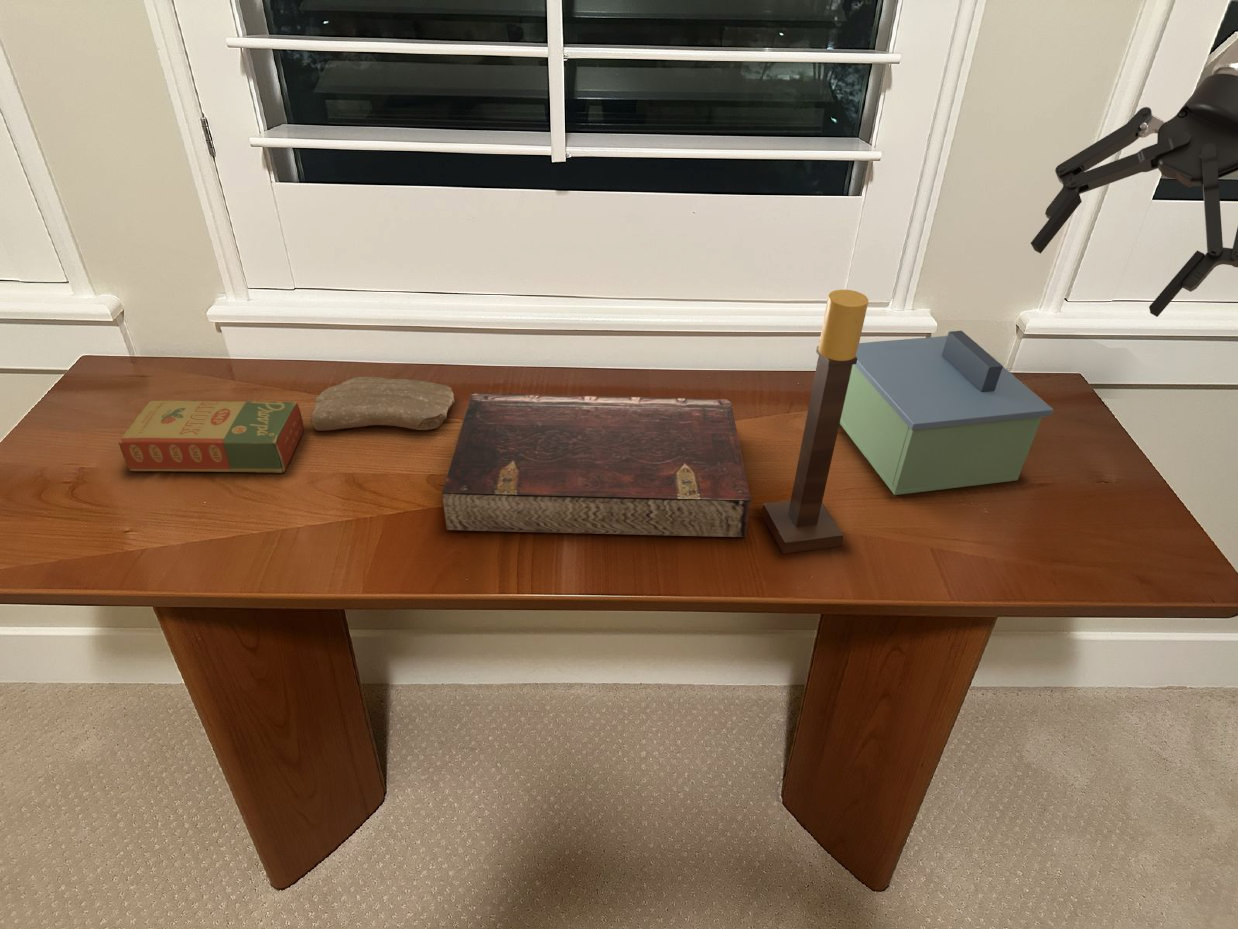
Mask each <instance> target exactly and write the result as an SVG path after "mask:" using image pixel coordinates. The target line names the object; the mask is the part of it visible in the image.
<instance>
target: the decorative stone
mask: <svg viewBox="0 0 1238 929" xmlns="http://www.w3.org/2000/svg"><path fill="white" fill-rule="evenodd" d="M454 394H455V393H454V392H453V390H452V387H451V386H449V385H446V384H442V383H437V382H431V381H425V380H415V379H411V378H403V379H400V378H394V379H393V378H383V377H379V376H357V377H352V378H350V379H348V380H344V381H343V382H341V383H339V384H337V385H334V386H330V387H328V388H325V389H324V390H323V391H322V392H320V394H319V395H318V396H317V397H315V405H314V409H313V411H312V412H311V419H310V420H311V423H312V426H313V428H314V430H316V431H319V432H320V431H321V432H322V431H324V432H325V431H335V430H336V431H337V430H341V429H342V430H344V429H352V428H353V429H354V428H360V427H361V428H362V427H368V426H389V427H390V426H391V427H400V428H406V429H410V430H417V431H429V430H434V429H438V428H439V427H441V425H443V423H444V421H445V420H446V419H447V417H448V411H449V410H450V409H451V407H452V406H453V405H454V404H455V395H454Z"/></svg>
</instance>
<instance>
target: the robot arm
mask: <svg viewBox="0 0 1238 929" xmlns="http://www.w3.org/2000/svg"><path fill="white" fill-rule="evenodd" d="M1211 73H1212V74H1211V75H1208V76H1206V77H1205V78H1204V79H1203V80H1202V82H1201V83H1200V84H1199V86H1198V87H1197V88H1196V89H1195V90H1194V92H1193V93H1192V95H1191V96H1190V97H1189V98H1188V100H1186V102H1185V103H1184V104H1183V105H1182V107H1180V109H1179V110H1178V112H1177V113H1176V114H1175V115H1174V116H1173V117H1172V118H1170V119H1169V120H1167V121H1165V120H1163V119H1161V118H1160V117H1158V116H1156V115H1154V114H1153V111H1152V109H1151V108H1150V107H1148V106H1143V107H1141V108H1140V109H1139V110H1138V111H1136V113H1135V114H1134V115H1133V116H1132V117H1131V118H1130V119H1129V121H1128V122H1126V124H1123V125H1122V126H1121V127H1119V128H1117V129H1116V130H1114V131H1112V132H1111V133H1109V134H1107V135H1106V136H1104V137H1103V138H1100V139H1099V140H1097V141H1096V142H1094V143H1093V144H1091V145H1089V146H1088V147H1086V148H1084V149H1083V150H1081V151H1079V152H1077V153H1076V154H1074V155H1073V156H1071V157H1069V158H1068V159H1066V160H1064V161H1063V162H1061V163H1059V164H1058V165H1057V166H1056V167H1055V169H1054V171H1055V175H1056V178H1057V180H1058V182H1059V183H1061V184H1062V188H1061V189H1060V190H1059V192H1058V193H1057V195H1056V196H1055V197H1054V199H1053V200H1052V201H1051V202H1050V204H1049V205H1048V206H1047V207H1046V209H1045V213H1044V215H1045V217H1046V219H1048V220H1047V221H1046V223H1045V224H1044V225H1043V226H1042V227H1041V229H1040V230H1039V231H1038V233H1037V234H1036V235H1035V236H1034V238H1033V239H1032V241H1031V242H1030V245H1031V247H1032V248H1033V251H1034V252H1037V253H1038V254H1042V253H1043V251H1045V249H1046V248H1047V246H1048V245H1049V244H1050V242H1051V241H1052V240H1053V239H1054V238H1055V236H1056V235H1057V234H1058V232H1059V231H1060V230H1061V229H1062V227H1063V226H1064V225H1065V224H1066V222H1067V221H1068V220H1069V219H1070V217H1071V216H1072V215H1073V213H1074V212H1075V211H1076V210H1077V209H1078V207H1079V206H1080V204H1082V197H1081V194H1084V193H1087V192H1089V191H1093V190H1095V189H1098V188H1101V187H1104V186H1106V185H1110V184H1112V183H1115V182H1118V181H1121V180H1124V179H1126V178H1129V177H1131V176H1135V175H1137V174H1140V173H1148V172H1149V173H1150V172H1152V171H1155V170H1157V169H1158V170H1159V172H1160V175H1161V176H1164V177H1165V178H1168V179H1175V180H1177V181H1179V182H1180V183H1181V184H1182V185H1183V186H1186V187H1188V188H1192V187H1200V186H1202V196H1203V208H1204V210H1203V211H1204V221H1205V222H1204V224H1205V237H1206V238H1205V239H1206V253H1203V252H1202V251H1200V250H1196V251H1195V252H1193V254H1192V256H1191V257H1190V258H1189V259H1188V260H1187V261H1186V262H1185V264H1184V265H1183V266H1182V267H1181V268H1180V270H1179V271H1178V272H1177V273H1176V274H1175V276H1174V277H1173V278H1172V279H1171V280H1170V282H1169V283H1168V284H1167V285H1166V286H1165V287H1164V289H1163V290H1161V292H1160V293H1159V294H1158V295H1157V297H1156V298H1155V299H1154V300H1153V302H1152V303H1150V305H1149V306H1148V309H1149V313H1150V314H1151V315H1153V316H1154V317H1156V318H1158V317H1159V316H1160V315H1161V314H1162V312H1163V311H1164V310H1165V309H1166V308H1167V306H1168V305H1170V303H1171V302H1172V301H1173V300H1174V299H1175V297H1176V296H1177V295H1178V294H1179V293H1180V292H1181V290H1182V289H1184V290H1186V291H1188V292H1190V293H1191V292H1193V291H1195V290H1196V289H1198V288H1199V286H1200V285H1201V284H1202V283H1203V282H1204V281H1205V279H1206V278H1207V277H1208V276H1209V275H1210V274H1211V273H1212V271H1213V270H1214V269H1215V268H1216V267H1217V266H1221V265H1222V266H1223V265H1226V266H1232V267H1233V268H1238V226H1237V228H1236V232H1235V237H1234V241H1233V245H1232V247H1224V242H1223V227H1222V226H1223V225H1222V214H1221V213H1222V212H1221V198H1220V180H1219V179H1221V178H1223V177H1226V176H1228V175H1231V174H1233V173H1236V172H1238V37H1237V38H1236V40H1235V41H1234V42H1233V43H1232V45H1231V46H1230V47H1228V49H1227V51H1226V52H1225V53H1224V55H1222V56H1221V58H1220V59H1219V60H1218V62H1217V63H1216V64H1215V65H1214V67H1213V68H1212V71H1211ZM1152 134H1157V139H1156V143H1154V144H1151V145H1148V146H1146V147H1143V148H1141V149H1140V150H1139V151H1137V152H1135V153H1132V154H1130V155H1127V156H1124V157H1122V158H1119V159H1116V160H1114V161H1111V162H1108V163H1105V164H1103V165H1100V166H1097V165H1099V164H1100V163H1102V162H1103V161H1105V160H1107V159H1108V158H1111V157H1112V156H1114V155H1115V154H1117V153H1119V152H1120V151H1122V150H1123V149H1125V148H1127V147H1129V146H1131V145H1132V144H1133V143H1135V142H1136V141H1138V140H1139V138H1142V139H1143V138H1147V137H1148V136H1150V135H1152ZM1096 166H1097V167H1096ZM1093 167H1094V168H1093Z"/></svg>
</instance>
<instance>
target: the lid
mask: <svg viewBox="0 0 1238 929" xmlns="http://www.w3.org/2000/svg"><path fill="white" fill-rule="evenodd" d="M856 357H857V363H856V364H854V365H855V366H856V367H857V369H858V370H859V371H860V372H861V373H862V374H863V375H864V377H865V378H866V379H867V380H868V381H869V382H870V383H871V385H872V386H873V387H874V388H875V389H876V390H877V391H878V392H879V394H880V395H881V396H882V397H883V398H884V399H885V400H886V402H887V403H888V404H889V405H890V406H891V407H892V408H893V409H894V411H895V412H896V413H897V414H898V415H899V416H900V417H901V419H902V420H903V421H904V422H905V423H906V424H907V425H908V427H909V428H910V429H911V430H921V429H931V428H940V427H950V426H959V425H969V424H979V423H988V422H998V421H1007V420H1017V419H1026V418H1036V417H1042V418H1045V417H1052V414H1053V413H1054V408H1052V406H1050V405H1049V404H1048V403H1047V402H1046V401H1044V400H1043V399H1042V398H1041V397H1039V396H1038V395H1037V394H1036V393H1035V392H1034V391H1032V389H1030V388H1029V387H1028V386H1027V385H1025V384H1024V383H1023V382H1022V381H1021V380H1020V379H1019V378H1017V377H1016V376H1015V375H1014V374H1013V373H1012V372H1011V371H1009V370H1008V369H1007V368H1006V367H1004V366H1003V365H1002V364H1001V363H1000V362H999V361H998V360H997V359H995V358H994V357H993V356H992V355H991V354H990V353H989V352H988V351H986V350H985V349H984V348H983V347H982V346H981V345H979V344H978V343H977V342H976V341H975V340H973V339H972V338H971V337H970V336H969V335H968V334H967V333H965V332H964V331H963V330H952V331H948V333H947V335H942V336H928V337H917V338H904V339H892V340H880V341H878V340H877V341H869V342H868V341H866V342H859V346H858V350H857V355H856Z"/></svg>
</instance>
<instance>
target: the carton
mask: <svg viewBox="0 0 1238 929" xmlns="http://www.w3.org/2000/svg"><path fill="white" fill-rule="evenodd" d="M301 412H302V411H301V409H300V406H299V403H298V402H296V401H229V400H228V401H226V400H225V401H224V400H223V401H221V400H219V401H218V400H217V401H215V400H214V401H213V400H150V401H149V402H148V403H147V405H146V406H145V407H143V409H142V411H141V412H140V413H139V414H138V415H137V417H135V419H134V421H133V422H132V423H131V425H130V426H129V427H128V428H127V430H126V431H125V433H124V434H123V435H122V436H121V438H120V439H119V441H118V445H119V448H120V451H121V455H122V457H123V459H124V461H125V464H126V466H127V468H128V470H129V471H130V472H218V473H220V472H223V473H254V474H255V473H258V474H260V473H261V474H283V473H285V471H286V470H287V467H288V465H289V463H290V461H291V459H292V457H293V454H294V452H295V450H296V448H297V446H298V444H299V441H300V439H301V437H302V435H303V433H304V429H305V426H304V420H303V417H302V416H303V415H302V413H301Z"/></svg>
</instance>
